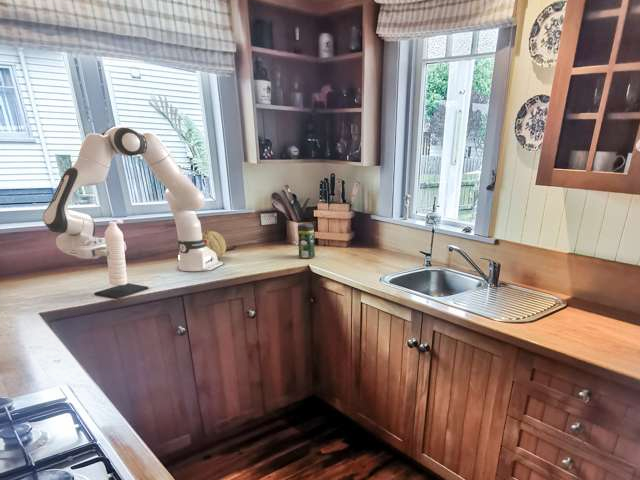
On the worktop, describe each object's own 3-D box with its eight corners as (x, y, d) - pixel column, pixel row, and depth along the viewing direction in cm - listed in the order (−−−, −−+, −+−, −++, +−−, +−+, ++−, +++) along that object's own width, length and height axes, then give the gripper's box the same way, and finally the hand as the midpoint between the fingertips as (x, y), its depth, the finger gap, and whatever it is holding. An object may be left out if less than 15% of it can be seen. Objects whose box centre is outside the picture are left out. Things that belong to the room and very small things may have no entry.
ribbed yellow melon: (231, 256, 256) (228, 229, 250) (221, 262, 243) (218, 233, 237) (204, 255, 257) (201, 227, 251) (193, 261, 243) (190, 232, 237)
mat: (127, 284, 203) (127, 283, 202) (148, 288, 199) (148, 286, 198) (95, 294, 189) (94, 292, 189) (116, 298, 185) (116, 296, 185)
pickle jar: (303, 254, 266) (302, 221, 258) (316, 255, 264) (315, 222, 256) (296, 258, 258) (295, 223, 250) (309, 259, 256) (308, 225, 248)
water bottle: (121, 286, 188) (115, 223, 179) (106, 284, 189) (99, 221, 179) (134, 282, 196) (129, 221, 187) (119, 279, 197) (113, 219, 187)
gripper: (64, 244, 181) (90, 248, 176) (109, 236, 198) (134, 239, 194) (68, 260, 184) (94, 264, 179) (112, 250, 201) (137, 254, 196)
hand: (115, 251), depth 187 cm, fingers closed on water bottle, 6 cm apart
